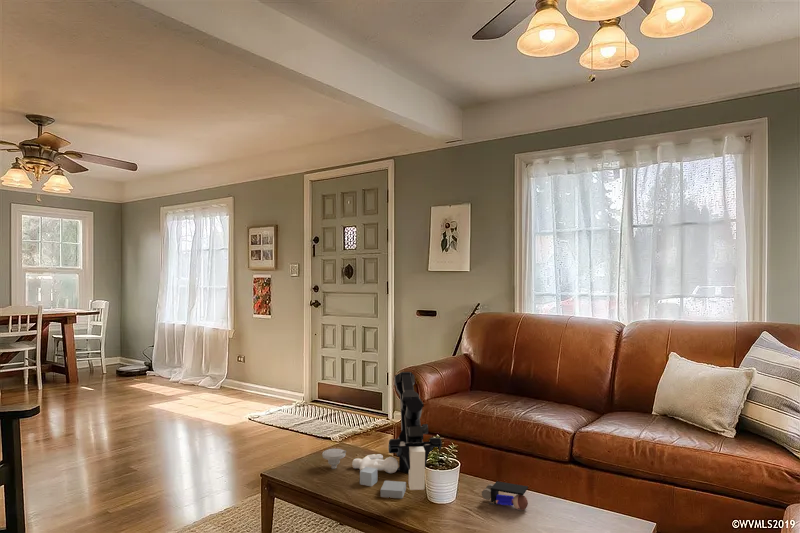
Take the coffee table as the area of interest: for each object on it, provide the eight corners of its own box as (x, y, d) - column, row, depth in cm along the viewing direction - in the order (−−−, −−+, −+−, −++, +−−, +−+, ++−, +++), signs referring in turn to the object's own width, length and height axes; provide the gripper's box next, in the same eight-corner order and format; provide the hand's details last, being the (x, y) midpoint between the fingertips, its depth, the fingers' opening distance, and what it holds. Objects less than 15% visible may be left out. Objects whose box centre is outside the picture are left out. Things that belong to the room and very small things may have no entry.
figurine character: (482, 509, 172) (525, 514, 165) (479, 486, 173) (522, 491, 166) (489, 501, 178) (531, 506, 171) (486, 479, 179) (528, 483, 171)
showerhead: (343, 454, 201) (319, 453, 203) (343, 472, 201) (319, 471, 203) (349, 446, 211) (326, 445, 212) (349, 464, 211) (326, 462, 212)
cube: (366, 479, 195) (365, 466, 195) (377, 481, 193) (377, 468, 193) (359, 484, 190) (359, 471, 190) (371, 486, 188) (371, 473, 188)
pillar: (408, 483, 176) (409, 446, 176) (422, 483, 176) (423, 446, 176) (409, 489, 171) (410, 451, 171) (424, 489, 171) (425, 451, 171)
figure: (403, 462, 207) (359, 461, 213) (400, 449, 205) (356, 448, 211) (395, 481, 197) (350, 479, 203) (392, 468, 195) (346, 465, 201)
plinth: (384, 488, 187) (384, 480, 187) (406, 490, 186) (405, 481, 186) (380, 497, 179) (380, 489, 179) (402, 499, 178) (402, 491, 178)
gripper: (388, 416, 177) (391, 459, 166) (440, 414, 179) (447, 457, 167) (387, 431, 184) (389, 473, 173) (437, 430, 186) (442, 471, 175)
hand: (417, 468), depth 172 cm, fingers closed on pillar, 5 cm apart
